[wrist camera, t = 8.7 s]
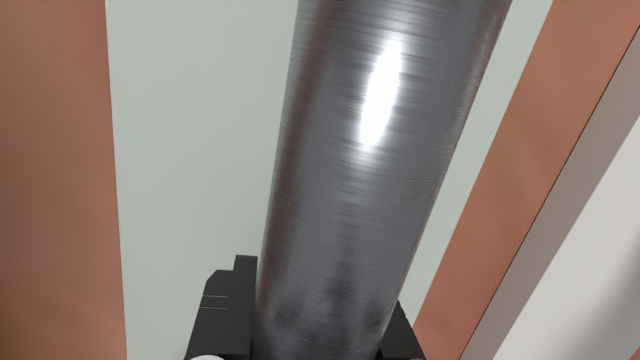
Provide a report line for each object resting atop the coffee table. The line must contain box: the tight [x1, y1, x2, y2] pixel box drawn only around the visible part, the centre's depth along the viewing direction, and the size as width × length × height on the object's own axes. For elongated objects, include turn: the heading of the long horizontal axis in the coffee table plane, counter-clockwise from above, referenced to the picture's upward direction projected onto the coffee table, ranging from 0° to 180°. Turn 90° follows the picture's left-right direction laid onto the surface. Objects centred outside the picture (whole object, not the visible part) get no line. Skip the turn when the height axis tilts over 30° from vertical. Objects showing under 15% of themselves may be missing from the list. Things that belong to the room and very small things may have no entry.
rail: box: [249, 0, 513, 360], centre depth 8 cm, size 26×3×3 cm, turn 169°
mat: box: [105, 0, 553, 360], centre depth 12 cm, size 12×28×1 cm, turn 169°
